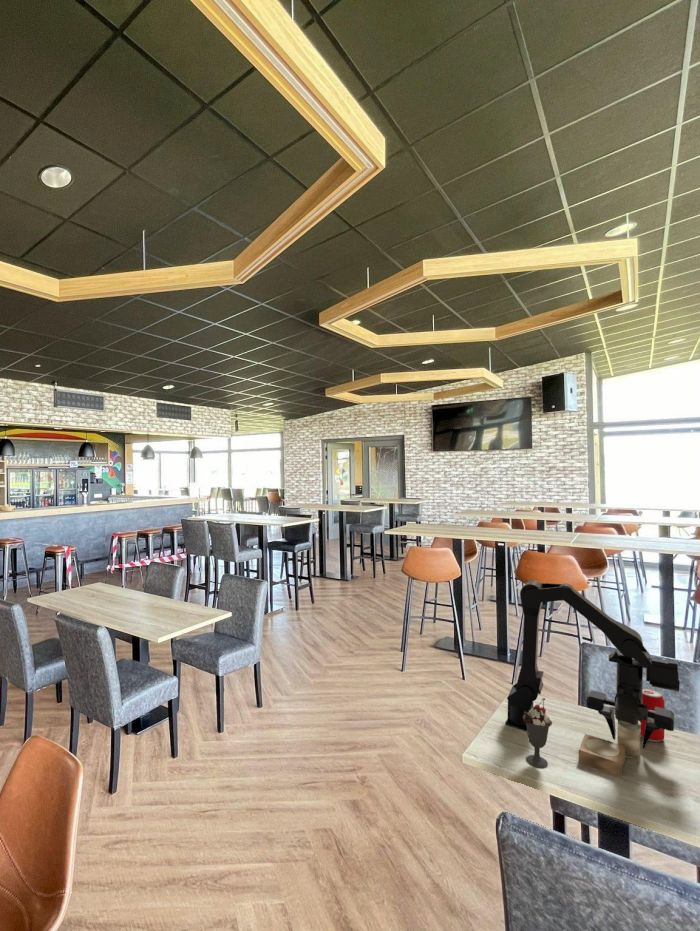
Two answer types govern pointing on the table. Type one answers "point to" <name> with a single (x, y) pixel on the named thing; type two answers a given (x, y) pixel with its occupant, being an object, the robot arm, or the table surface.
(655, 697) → the beverage can
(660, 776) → the table surface
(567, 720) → the table surface
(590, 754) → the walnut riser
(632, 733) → the birch cylinder
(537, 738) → the sundae
